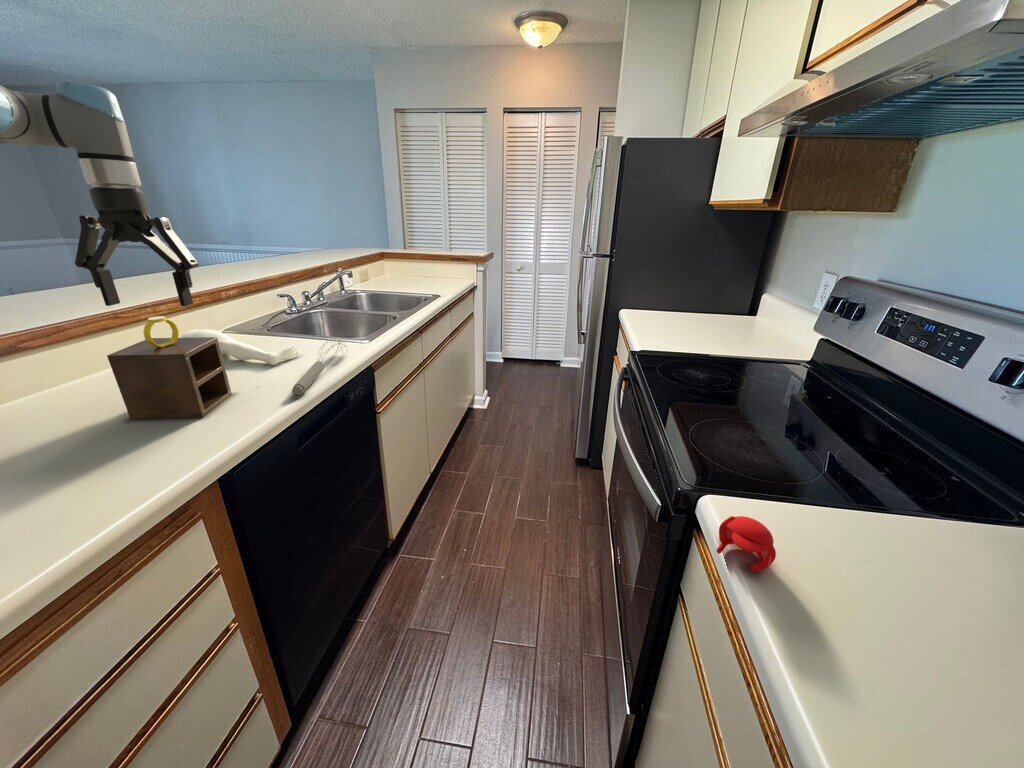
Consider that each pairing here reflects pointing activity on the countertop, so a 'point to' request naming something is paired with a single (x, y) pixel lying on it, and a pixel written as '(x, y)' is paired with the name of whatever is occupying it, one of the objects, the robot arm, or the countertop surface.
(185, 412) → the shelf
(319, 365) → the kitchen whisk
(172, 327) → the watch
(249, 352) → the leg
